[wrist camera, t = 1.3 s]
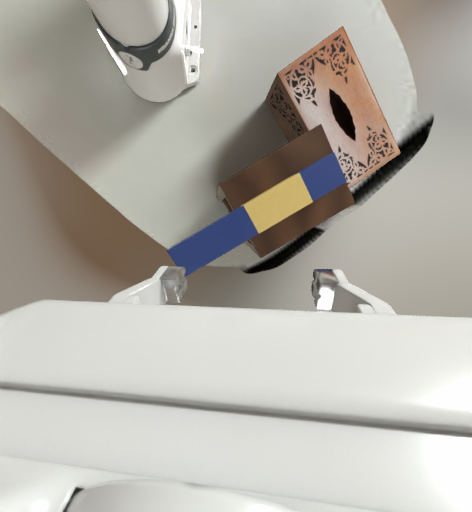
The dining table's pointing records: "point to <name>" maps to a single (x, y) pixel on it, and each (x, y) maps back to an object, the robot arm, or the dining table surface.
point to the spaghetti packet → (258, 214)
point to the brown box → (276, 171)
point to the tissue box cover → (334, 106)
